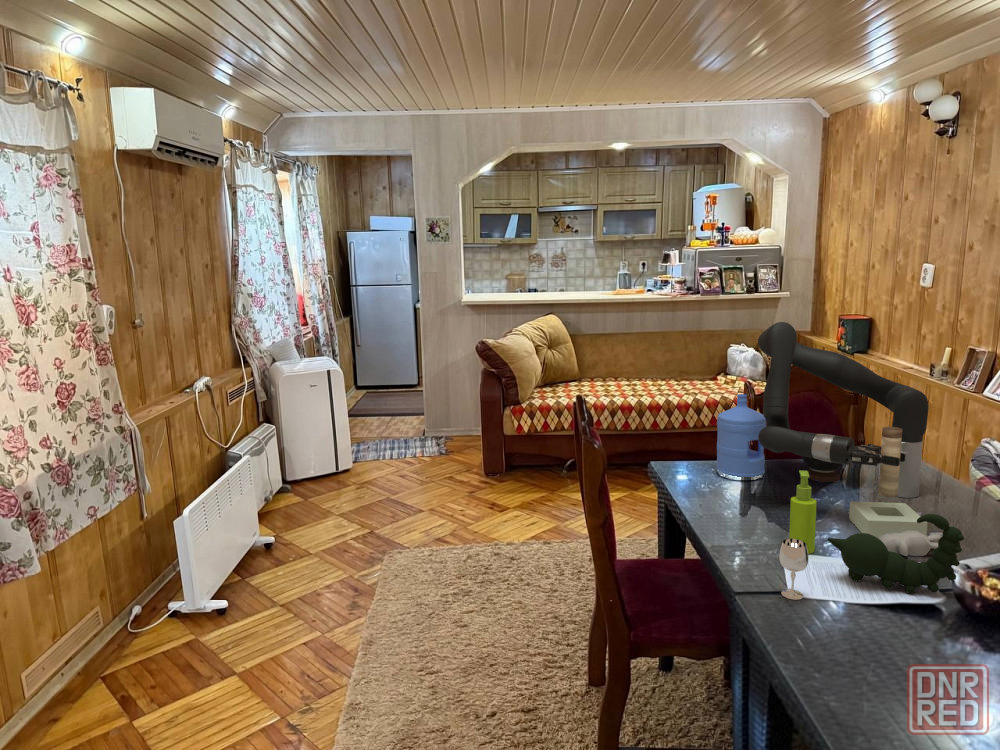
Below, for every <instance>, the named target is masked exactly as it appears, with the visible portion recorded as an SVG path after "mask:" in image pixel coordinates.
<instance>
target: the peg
mask: <svg viewBox="0 0 1000 750" xmlns="http://www.w3.org/2000/svg"><path fill="white" fill-rule="evenodd" d="M901 439H902V429H901V428H897V427H892V426H883V427H882V430H881V455H883V456H884V455H886V456H892V457H898V458H900V454H901ZM899 469H900V465H899V466H892V465H886V464H882V465H879V481H878V495H880V496H882V497H885V498H886V497H887V498H896V497H897V496H898V484H899ZM897 498H898V497H897Z"/></svg>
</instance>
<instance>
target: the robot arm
mask: <svg viewBox="0 0 1000 750" xmlns="http://www.w3.org/2000/svg"><path fill="white" fill-rule="evenodd" d="M797 339H798V334H797V331H796V329H795V328H794V326H793V325H792V324H790V323H789V322H785V321H779V322H775V323H773V324H771V326H768V328H766V329H765V330H764V331H763V332H762V333H760V334H759V336H758V339H757V345H758V347H759V350H760V351H761V352H762V353H764V355H767V356H768V357H770V364H769V365H770V366H769V371H768V376H767V378H766V383H765V386H764V389H763V390H764V392H763V400H762V401H763V403H762V414H763V415H764V418H765V419H766V427H765V428H763V429H762V430H761V431H760V432H759V435H758V439H759V442H760V444H761V445H762V446H763V447H764V449H767V450H768V451H771V452H772V453H776V454H781V453H784V452H787V453H792V454H794V455H797V456H800V457H802V456H804V457H810V458H815V459H819V460H822V461H828V462H833V463H839V464H842V465H846V466H850V465H851V464H854V465H855V464H856V465H863V466H864V465H866V466H874V467H877V466H878V465H879V466H880V465H882V464H886V465H892V466H899V465H900V469H899V484H898V496H897V498H904V499H905V498H906V499H907V498H908V499H911V498H917V497H919V495H920V484H921V470H922V457H923V456H922V455H923V441H924V439H923V438H924V436H925V433H926V431H927V427H928V426H927V425H928V418H929V410H930V409H929V405H930V404H929V399H928V397H927V396H926V395H925V393H924V392H923V391H921V390H919V389H916V388H915V387H911V386H909V385H905V384H902V383H899V382H896V381H893V380H890V379H888V378H885V377H884V376H881V375H879V374H877V373H875V372H874V371H873V370H871V369H870V368H868V367H867V366H865V365H864V364H862V363H860V362H859V361H856V360H855V359H852V358H850V357H848V356H846V355H844V354H841V353H839V352H836V351H832V350H826V349H821V348H816V347H815V348H814V347H810V346H807V345H804V344H802V343H799V342H797V341H798V340H797ZM792 366H795V367H797V368H799V369H801V370H803V371H805V372H807V373H809V374H811V375H813V376H815V377H818V378H820V379H822V380H824V381H826V382H828V383H829V384H832V385H834V386H836V387H838V388H841V389H843V390H846V391H849V392H851V393H855V394H858V395H862V396H865V397H868V399H869V398H870V399H871V400H873V401H875V402H877V403H878V404H880V405H882V406H883V407H885V408H886V409H888V410H889V411H890V412H892V413H893V415H892V425H891V427H897V428H901V429H902V439H901V454H900V458H898V457H892V456H886V455H884V456H883V455H881V446H882V445H881V446H880V445H877V444H872V443H867V444H860V445H856V443H855V442H856V441H855V440H854V438H852V437H846V436H842V435H841V436H840V435H833V434H829V435H827V434H828V433H813V432H806V431H797V430H794V429H791V428H790V427H791V426H790V422H789V421H790V420H789V401H790V400H789V399H790V381H791V375H792V374H791V373H792V372H791V371H792Z"/></svg>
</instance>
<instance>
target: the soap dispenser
mask: <svg viewBox="0 0 1000 750" xmlns="http://www.w3.org/2000/svg"><path fill="white" fill-rule="evenodd" d="M798 473H799V476H800V484H797V485H796V495H795V496H792V497H791V498H790V509H789V510H790V511H789V515H790V516H789V535H788V536H789V538H788V539H798V540H801V541H803V542H805V543H806V546H807V550H808V555H811V553H812V554H813V552H814V553H815V546H816V542H815V541H816V525H817V524H816V523H817V522H816V521H817V520H816V519H817V504H818V503H817V500H816V499H815V498H813V497H812V489H813V488H812V486H811V485H810V484H809V480H808V478H809V473H808V471H806V470H800V469H799V470H798Z"/></svg>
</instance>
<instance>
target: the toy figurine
mask: <svg viewBox="0 0 1000 750" xmlns="http://www.w3.org/2000/svg"><path fill="white" fill-rule="evenodd" d="M920 516H921V517H919V518H918V519H917V523H921V522H928V523H929V524H933V526H935V527H936V528H937V529H939V530H942V537H941V538H940V539H939V540H937V541H938V542H937V543H938V548H936V549H934V550H933V553H932V556H931V557H929V558H928V559H926V561H920V562H919V561H916V560H914V559H911V558H907V559H906V558H905V557H903V555H902V554H900V553H899V554H898V553H896V552H892V551H888V549H887V547H886V546H885V544H884V543H883V542H882V541H881V540H880V539H878V538H877V537H875V536H873V535H871V534H867V533H862V532H860V533H853V534H852V535H850V536H847V538H833V537H829V538H827V539H826V540H827V542H829V543H830V544H831V545H833V546H834V547H835V548H836V549H837V550H839V552H840V555H841V560H842V561H843V563H844V566H846V568H847V569H848V570H847V571H848V572H847V574H848V578H850V580H851V581H854V582H861V581H863V579H864V577H868V578H869V577H875V576H877V577H878V578H879V579H880V582H881V586H882V587H884V588H885V589H892V588H894V587H895V584H897V583H898V584H900V585H901V586H903V587H905V588H904V590H905V592H906V593H907V592H908V593H907V594H910V593H911V595H912V593H913V594H915V593H916V592H917V588H921V587H922V586H924V587H927V590H928V591H929V592H931V593H938V591H939V590H940V588H939V585H938V583H939V581H940V580H941V579H945V578H946V579H948V580H949V581H955V580H957V575H956V573H955V570H954V567H958V566H960V561H959V559H958V556H957V554H959V553H961V552H963V549H962V547H961V542H963V541H964V540H965V537H964V535H963V533H962V531H961V530H960V529H959V528H958V527H955V526H950V523H949V521H948V519H946V518H945V517H943V516H942V515H939V514H936V513H927V514H922V515H920ZM953 566H954V567H953Z"/></svg>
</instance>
